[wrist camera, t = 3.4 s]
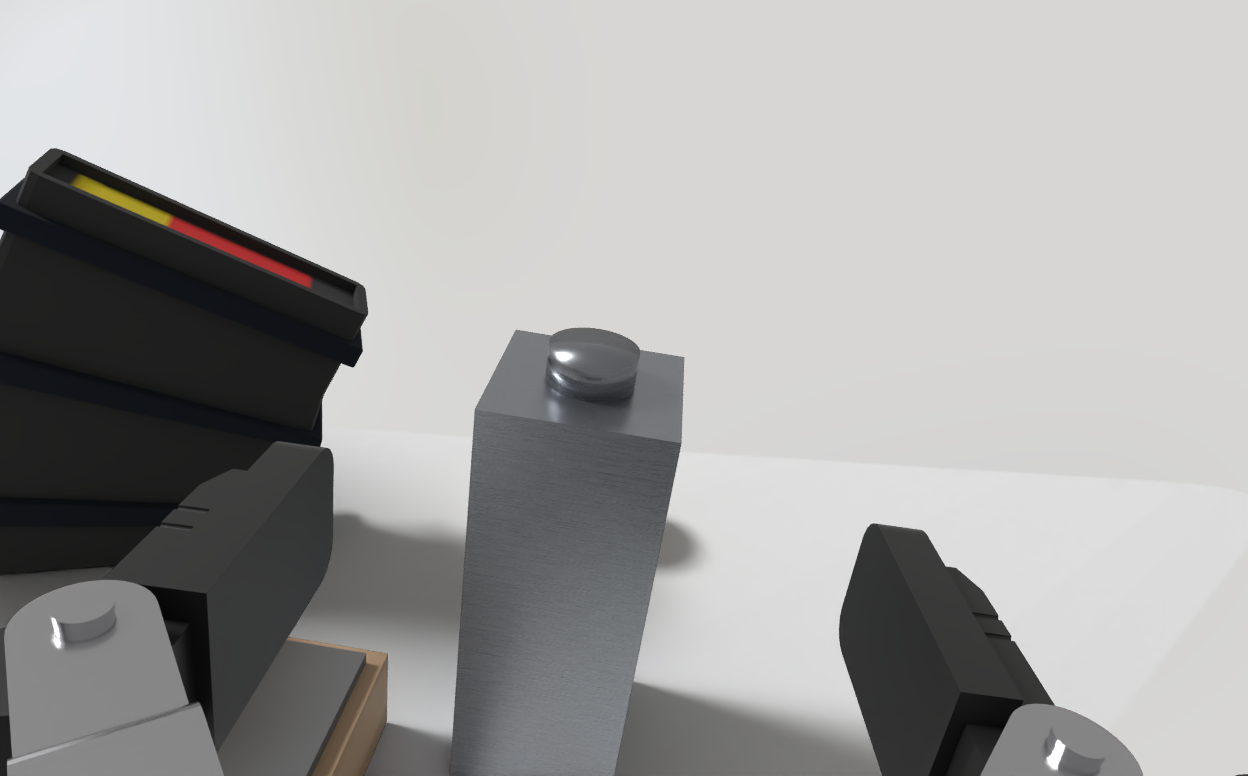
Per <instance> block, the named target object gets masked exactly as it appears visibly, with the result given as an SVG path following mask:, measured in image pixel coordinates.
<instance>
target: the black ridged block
mask: <svg viewBox="0 0 1248 776" xmlns="http://www.w3.org/2000/svg"><path fill="white" fill-rule="evenodd" d="M0 229H1V230H4V232H3V235H2V237H1V240H0V574H11V573H24V572H36V571H48V570H61V569H73V568H86V567H98V566H110V565H117V564H118V563H119V562H120V561H121V560H122V559H124V558H125V557H126V556H127V555H128V554H129V553H130V552H131V551H132V550H133V549H134V548H135V547H136V546H137V545H138V544H139V543H140V542H141V541H142V540H143V539H144V538H145V537H146V536H147V535H148V534H149V533H150V532H151V531H152V530H153V529H154V528H155V527H156V526H157V527H160V526H161V522H162V521H163V520H164V519H165V518H166V517H167V516H168V515H169V514H170V513H171V512H172V511H173V510H174V509H178V507H179V504H180V503H181V502H182V501H183V500H184V499H185V498H186V497H187V496H188V495H189V494H190V493H192V492H193V491H194V490H195V489H196V488H197V487H198V486H199V485H200V484H202V483H204V482H206V481H208V480H210V479H212V478H214V477H217V476H219V475H221V474H223V473H225V472H227V471H229V470H231V469H237V470H244V471H247V470H248V469H249V468H250V467H251V466H252V465H253V464H254V463H255V462H256V461H257V460H258V459H259V458H260V457H261V456H262V455H263V453H264V452H265V451H266V450H267V449H268V448H269V447H270V446H271V445H272V444H273V443H275V442H277V441H280V442H288V443H295V444H302V445H309V446H316V447H320V446H321V442H322V399H323V396H324V393H325V392H326V390H327V388H328V386H329V384H330V382H331V380H332V378H333V377H334V375H335V373H336V372H337V370H338V368H339V366H340V364H341V363H342V364H345V365H347V366H350V367H354V366H355V364H356V363H357V361H358V359H359V357H360V355H361V353H362V352H363V349H362V340H361V329H360V328H361V326H362V324H363V322H364V320H365V318H366V317H367V315H368V307H367V299H366V291H365V288H364V287H363V286H362V285H361V284H359V283H357V282H356V281H353V280H351V279H349V278H347V277H344V276H342V275H340V274H338V273H335V272H333V271H331V270H329V269H326V268H324V267H322V266H320V265H318V264H315V263H313V262H311V261H308V260H306V259H304V258H302V257H300V256H298V255H295V254H293V253H291V252H289V251H286V250H284V249H282V248H280V247H277V246H275V245H273V244H271V243H269V242H266V241H264V240H262V239H260V238H257V237H255V236H253V235H251V234H248V233H246V232H244V231H241V230H240V229H237V228H235V227H233V226H231V225H228V224H226V223H224V222H222V221H219V220H217V219H215V218H213V217H211V216H208V215H206V214H204V213H202V212H199V211H197V210H194V209H193V208H190V207H188V206H186V205H184V204H181V203H179V202H177V201H175V200H172V199H170V198H168V197H166V196H164V195H161V194H159V193H157V192H155V191H153V190H150V189H148V188H146V187H143V186H141V185H139V184H137V183H135V182H132V181H130V180H128V179H126V178H123V177H121V176H119V175H117V174H114V173H112V172H110V171H108V170H106V169H103V168H101V167H99V166H97V165H95V164H92V163H90V162H88V161H85V160H83V159H81V158H79V157H77V156H74V155H72V154H70V153H68V152H66V151H63V150H59V149H55V148H54V149H50V150H49V151H47V152H46V153H45V154H44V155H43V156H42V157H40V158H39V159H38V160H37V161H36V162H35V163H33V164H32V165H31V166H30V167H29V169H28V171H27V174H26V176H25V178H24V179H23V180H21V181H20V182H19V183H18V184H17V185H16V186H15V187H14V188H12V189H11V190H10V191H9V192H8V193H6V194H5V195H4V196H3V197H2V198H1V199H0Z"/></svg>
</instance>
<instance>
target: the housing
mask: <svg viewBox="0 0 1248 776" xmlns="http://www.w3.org/2000/svg"><path fill="white" fill-rule="evenodd" d="M683 378H684V357H679V356H673V355H667V354H661V353H655V352H649V351H643V350H640V349H639V347H638V346H637V345H636V344H635V343H634V342H633V341H631V340H630V339H628V338H626V337H624V336H622V335H620V334H617V333H613V332H610V331H606V330H601V329H595V328H572V329H565V330H562V331H559V332H557V333H555V334H553V335H552V336H551V335H544V334H538V333H532V332H526V331H520V330H516V331H515V333H514V335H513V336H512V338H511V340H510V342H509V344H508V346H507V348H506V350H505V352H504V354H503V356H502V358H501V360H500V362H499V364H498V365H497V367H496V370H495V371H494V373H493V376H492V377H491V379H490V381H489V383H488V385H487V387H486V389H485V391H484V393H483V395H482V397H481V399H480V400H479V402H478V404H477V406H476V408H475V416H474V430H473V444H472V459H471V473H470V488H469V502H468V517H467V532H466V546H465V561H464V575H463V590H462V605H461V619H460V634H459V648H458V663H457V678H456V692H455V707H454V721H453V736H452V751H451V765H450V774H452V775H458V776H614V774H615V769H616V764H617V759H618V754H619V749H620V744H621V739H622V734H623V729H624V724H625V719H626V714H627V709H628V704H629V699H630V694H631V690H632V685H633V680H634V675H635V670H636V665H637V660H638V655H639V650H640V645H641V640H642V635H643V630H644V625H645V620H646V615H647V610H648V606H649V601H650V596H651V591H652V586H653V581H654V576H655V571H656V566H657V561H658V556H659V551H660V546H661V541H662V536H663V531H664V526H665V522H666V517H667V512H668V507H669V502H670V497H671V492H672V487H673V482H674V477H675V472H676V467H677V462H678V457H679V452H680V447H681V438H682V436H681V435H682V410H683V409H682V408H683V380H684V379H683Z"/></svg>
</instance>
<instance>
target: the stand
mask: <svg viewBox="0 0 1248 776" xmlns="http://www.w3.org/2000/svg"><path fill="white" fill-rule="evenodd" d="M387 676H388V654H387V653H381V652H375V651H369V650H363V649H357V648H351V647H345V646H339V645H333V644H327V643H321V642H315V641H309V640H303V639H297V638H291V637H288V638H287V640H286V641H285V643H284V645H283V646H282V648H281V649H280V651H279V653H278V654H277V656H276V658H275V659H274V661H273V663H272V664H271V666H270V667H269V669H268V671H267V672H266V674H265V676H264V677H263V679H262V681H261V682H260V684H259V685H258V687H257V689H256V690H255V692H254V694H253V695H252V697H251V699H250V700H249V702H248V703H247V705H246V707H245V708H244V710H243V712H242V713H241V715H240V717H239V718H238V720H237V722H236V723H235V725H234V726H233V728H232V730H231V731H230V733H229V735H228V736H227V738H226V740H225V741H224V743H223V744H222V746H221V748H220V749H219V751H218V753H217V756H218V759H219V762H220V765H221V768H222V771H223V774H224V776H364V775H365V772H366V770H367V767H368V765H369V763H370V760H371V758H372V755H373V753H374V751H375V748H376V746H377V743H378V741H379V739H380V736H381V734H382V731H383V729H384V727H385V724H386V722H387Z"/></svg>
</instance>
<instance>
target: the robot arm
mask: <svg viewBox="0 0 1248 776" xmlns="http://www.w3.org/2000/svg"><path fill="white" fill-rule="evenodd" d="M333 473H334V463H333V455H332V452H331V450H330V449H328V448H323V447H316V446H309V445H302V444H295V443H288V442H280V441H277V442H275V443H273V444H272V445H271V446H270V447H269V448H268V449H267V450H266V451H265V452H264V453H263V455H262V456H261V457H260V458H259V459H258V460H257V461H256V462H255V463H254V464H253V465H252V466H251V467H250V468H249V469H248V470H247V471H244V470H237V469H231V470H229V471H227V472H225V473H223V474H221V475H219V476H217V477H214V478H212V479H210V480H208V481H206V482H204V483H202V484H200V485H199V486H198V487H197V488H196V489H195V490H194V491H193V492H192V493H190V494H189V495H188V496H187V497H186V498H185V499H184V500H183V501H182V502H181V503H180V504H179V507H178V509H174V510H173V511H172V512H171V513H170V514H169V515H168V516H167V517H166V518H165V519H164V520H163V521H162V522H161V526H160V527H157V526H156V527H155V528H154V529H153V530H152V531H151V532H150V533H149V534H148V535H147V536H146V537H145V538H144V539H143V540H142V541H141V542H140V543H139V544H138V545H137V546H136V547H135V548H134V549H133V550H132V551H131V552H130V553H129V554H128V555H127V556H126V557H125V558H124V559H122V560H121V561H120V562H119V563H118V564H117V565H116V566H115V567H114V568H113V569H112V570H111V571H110V572H109V573H108V574H107V575H106V576H105V577H104V578H103V579H102V580H95V581H87V582H81V583H76V584H72V585H68V586H64V587H62V588H59V589H56V590H53V591H51V592H48V593H46V594H44V595H42V596H40V597H38V598H36V599H34V600H33V601H31V602H29V603H28V604H27V605H25V606H24V607H22V608H21V609H20V610H19V611H18V612H17V613H16V614H15V615H14V616H13V617H12V619H11V620H10V621H9V623H8V625H7V627H6V628H2V629H0V776H224V774H223V771H222V768H221V765H220V762H219V759H218V756H217V753H218V751H219V749H220V748H221V746H222V744H223V743H224V741H225V740H226V738H227V736H228V735H229V733H230V731H231V730H232V728H233V726H234V725H235V723H236V722H237V720H238V718H239V717H240V715H241V713H242V712H243V710H244V708H245V707H246V705H247V703H248V702H249V700H250V699H251V697H252V695H253V694H254V692H255V690H256V689H257V687H258V685H259V684H260V682H261V681H262V679H263V677H264V676H265V674H266V672H267V671H268V669H269V667H270V666H271V664H272V663H273V661H274V659H275V658H276V656H277V654H278V653H279V651H280V649H281V648H282V646H283V645H284V643H285V641H286V640H287V638H288V636H289V635H290V633H291V631H292V630H293V628H294V626H295V625H296V623H297V622H298V620H299V618H300V617H301V615H302V613H303V612H304V610H305V608H306V607H307V605H308V604H309V602H310V600H311V599H312V597H313V595H314V594H315V592H316V590H317V589H318V587H319V586H320V584H321V582H322V580H323V578H324V576H325V573H326V570H327V567H328V564H329V560H330V555H331V549H332V539H333ZM839 639H840V647H841V651H842V654H843V658H844V661H845V664H846V667H847V670H848V673H849V676H850V679H851V682H852V685H853V688H854V691H855V694H856V697H857V700H858V703H859V706H860V709H861V712H862V715H863V718H864V721H865V724H866V727H867V730H868V734H869V737H870V740H871V743H872V746H873V749H874V752H875V755H876V758H877V761H878V764H879V767H880V770H881V773H882V776H1143V773H1142V770H1141V768H1140V766H1139V764H1138V762H1137V761H1136V759H1135V758H1134V756H1133V755H1132V754H1131V752H1130V751H1129V750H1128V749H1127V748H1126V746H1124V745H1123V744H1122V743H1121V742H1120V741H1119V740H1118V739H1117V738H1116V737H1115V736H1113V735H1112V734H1111V733H1110V732H1109V731H1107V730H1106V729H1104V728H1103V727H1101V726H1100V725H1098V724H1097V723H1095V722H1093V721H1091V720H1090V719H1088V718H1086V717H1084V716H1082V715H1080V714H1078V713H1075V712H1073V711H1070V710H1067V709H1065V708H1061V707H1057V706H1055V705H1054V703H1053V702H1052V700H1051V699H1050V697H1049V695H1048V694H1047V692H1046V691H1045V689H1044V687H1043V686H1042V684H1041V683H1040V681H1039V679H1038V678H1037V676H1036V675H1035V673H1034V671H1033V670H1032V668H1031V667H1030V665H1029V664H1028V662H1027V660H1026V659H1025V657H1024V656H1023V654H1022V652H1021V651H1020V649H1019V648H1018V646H1017V644H1016V643H1015V641H1011V635H1010V633H1009V632H1008V630H1007V629H1006V627H1005V625H1004V624H1003V622H1002V621H1000V620H998V614H997V613H996V611H995V609H994V608H993V606H992V605H991V603H990V601H989V600H988V598H987V597H986V595H985V594H984V592H983V591H982V590H981V589H980V588H979V587H978V586H976V585H975V584H974V583H973V582H972V581H971V580H969V579H968V578H967V577H966V576H965V575H964V574H962V573H961V572H960V571H959V570H958V569H957V568H953V567H945V565H944V563H943V561H942V560H941V558H940V556H939V555H938V553H937V551H936V550H935V548H934V546H933V544H932V543H931V541H930V539H929V538H928V536H927V534H926V533H925V532H924V531H922V530H917V529H910V528H903V527H896V526H888V525H881V524H871V525H870V526H869V527H868V528H867V530H866V532H865V534H864V536H863V539H862V543H861V546H860V549H859V553H858V556H857V559H856V563H855V566H854V569H853V573H852V576H851V579H850V583H849V586H848V589H847V593H846V596H845V599H844V603H843V606H842V610H841V615H840V624H839ZM1237 776H1248V774H1247V775H1246V774H1244V775H1237Z"/></svg>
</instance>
